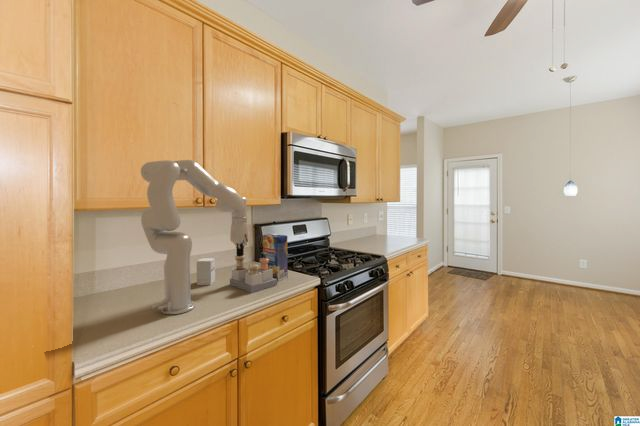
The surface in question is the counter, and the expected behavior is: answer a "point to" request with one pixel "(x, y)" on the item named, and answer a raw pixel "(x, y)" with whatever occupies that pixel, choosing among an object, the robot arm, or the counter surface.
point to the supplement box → (205, 271)
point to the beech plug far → (240, 262)
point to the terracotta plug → (264, 263)
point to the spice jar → (253, 269)
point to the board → (252, 280)
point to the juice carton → (276, 254)
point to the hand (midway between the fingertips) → (240, 255)
